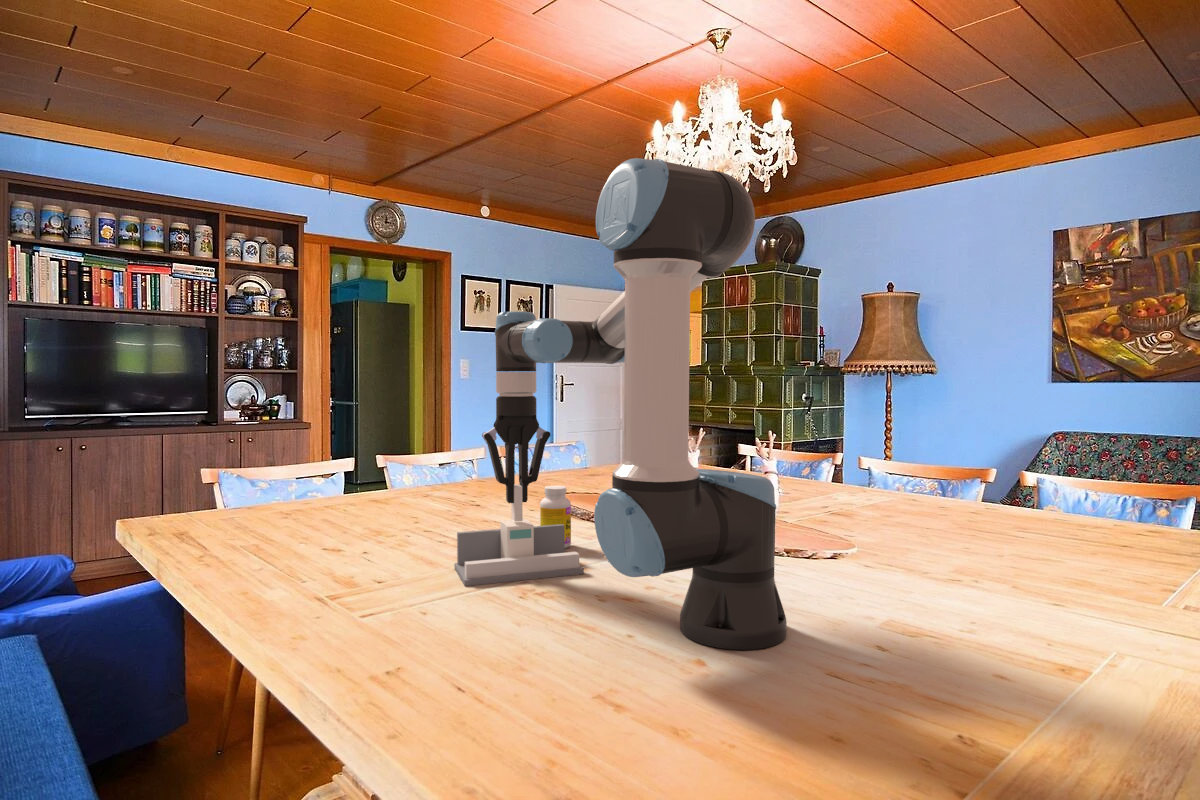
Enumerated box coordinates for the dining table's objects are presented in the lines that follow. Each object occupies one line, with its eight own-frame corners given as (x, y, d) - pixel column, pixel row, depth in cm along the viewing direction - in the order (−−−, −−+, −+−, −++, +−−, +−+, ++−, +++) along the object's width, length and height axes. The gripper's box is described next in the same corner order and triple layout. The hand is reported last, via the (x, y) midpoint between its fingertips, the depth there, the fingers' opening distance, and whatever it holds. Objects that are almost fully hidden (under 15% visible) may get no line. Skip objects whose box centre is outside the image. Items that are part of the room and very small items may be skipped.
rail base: (583, 573, 133) (583, 536, 132) (464, 586, 125) (464, 546, 125) (564, 558, 144) (564, 523, 144) (454, 568, 136) (454, 532, 136)
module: (533, 567, 133) (533, 525, 133) (507, 570, 132) (507, 527, 131) (526, 559, 139) (525, 518, 139) (500, 561, 137) (500, 520, 137)
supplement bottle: (570, 550, 150) (569, 489, 150) (538, 550, 150) (538, 489, 150) (571, 542, 157) (571, 484, 156) (541, 542, 157) (541, 484, 157)
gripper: (544, 393, 140) (545, 513, 141) (478, 394, 135) (478, 518, 136) (555, 395, 133) (555, 521, 134) (485, 395, 128) (486, 526, 129)
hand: (517, 519), depth 135 cm, fingers closed
